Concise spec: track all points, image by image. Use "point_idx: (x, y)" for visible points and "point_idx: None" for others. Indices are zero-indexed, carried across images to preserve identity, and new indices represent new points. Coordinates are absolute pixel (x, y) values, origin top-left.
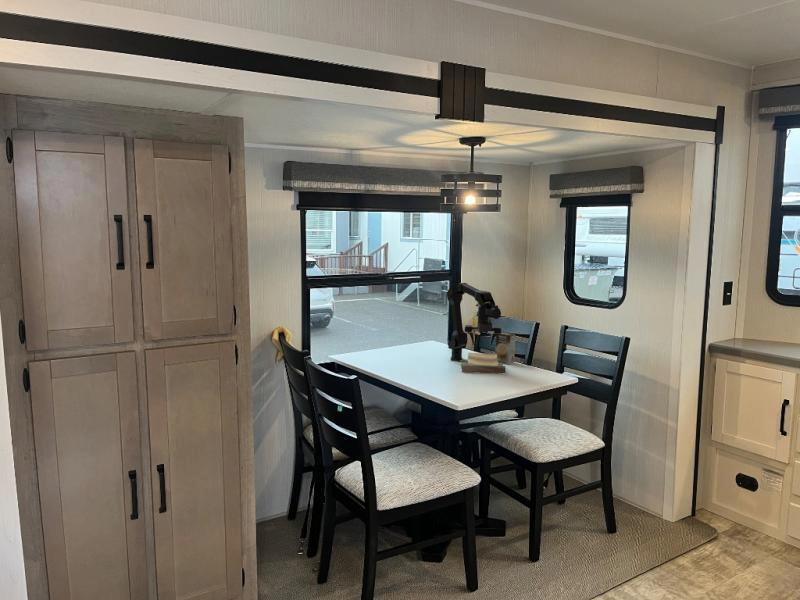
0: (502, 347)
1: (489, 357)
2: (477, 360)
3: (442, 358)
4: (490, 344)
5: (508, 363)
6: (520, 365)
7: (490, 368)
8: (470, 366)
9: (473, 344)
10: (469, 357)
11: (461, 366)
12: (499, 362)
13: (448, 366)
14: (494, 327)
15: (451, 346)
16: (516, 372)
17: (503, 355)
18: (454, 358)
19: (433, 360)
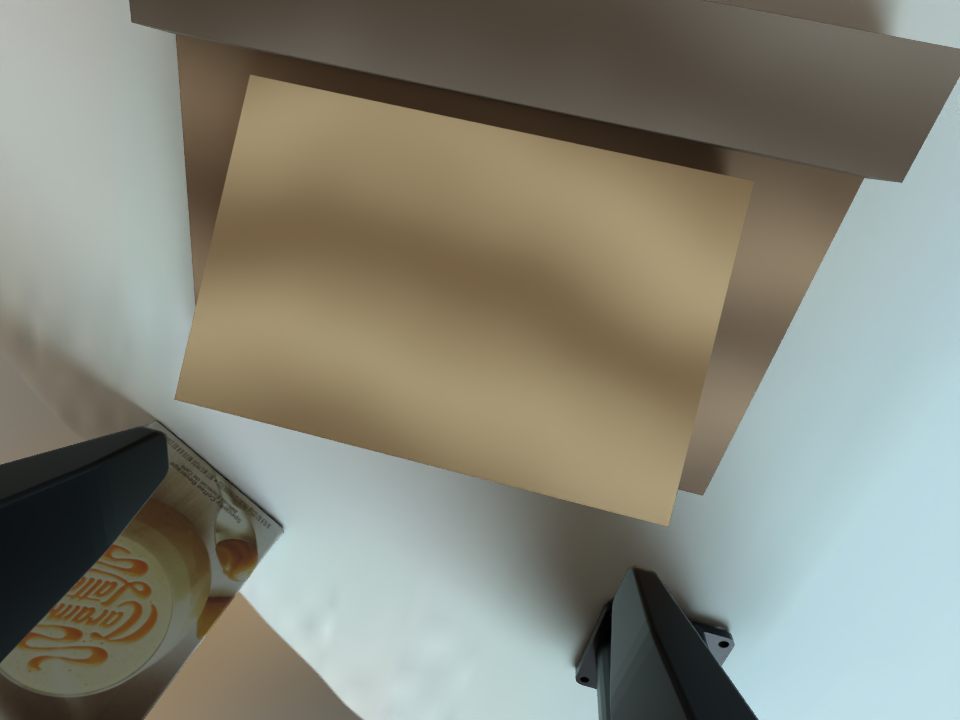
0: (70, 617)
1: (324, 320)
2: (557, 272)
3: (786, 700)
4: (126, 447)
5: (149, 426)
6: (41, 373)
7: None
8: (783, 18)
9: (646, 577)
10: (679, 383)
11: (824, 254)
12: (240, 492)
13: (914, 411)
14: None
15: None
16: (54, 34)
17: (142, 519)
18: (704, 637)
19: (943, 661)
